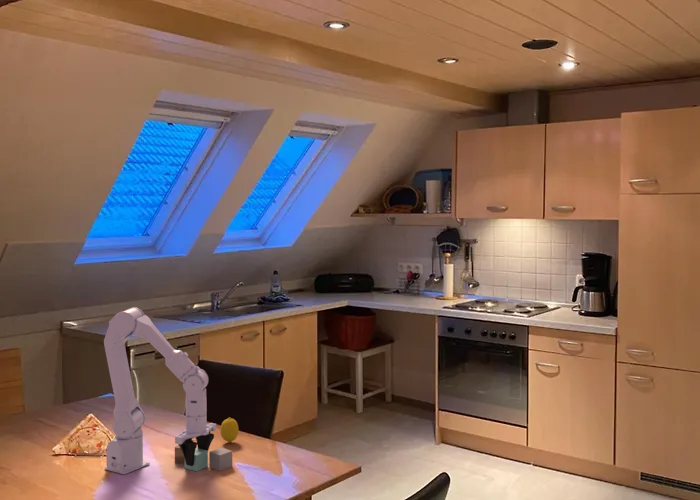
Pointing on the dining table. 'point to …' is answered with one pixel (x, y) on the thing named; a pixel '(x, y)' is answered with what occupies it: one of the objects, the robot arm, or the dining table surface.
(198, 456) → the teal block
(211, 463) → the grey block
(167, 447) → the dining table surface
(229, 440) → the lemon
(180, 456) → the walnut block
